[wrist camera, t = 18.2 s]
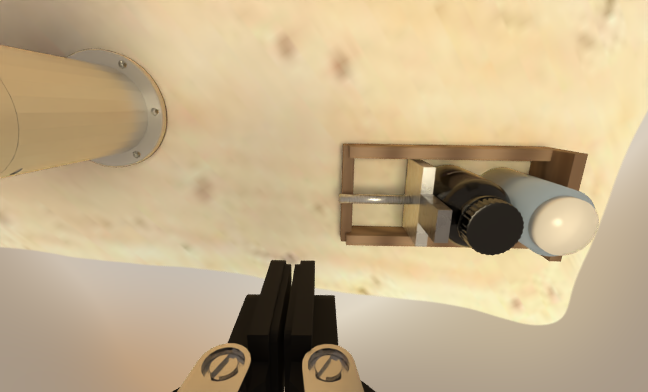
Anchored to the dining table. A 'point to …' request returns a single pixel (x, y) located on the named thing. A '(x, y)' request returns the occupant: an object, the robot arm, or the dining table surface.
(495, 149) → the brown wooden open box
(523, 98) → the dining table surface
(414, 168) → the pusher
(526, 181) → the blue jar
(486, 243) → the supplement bottle
